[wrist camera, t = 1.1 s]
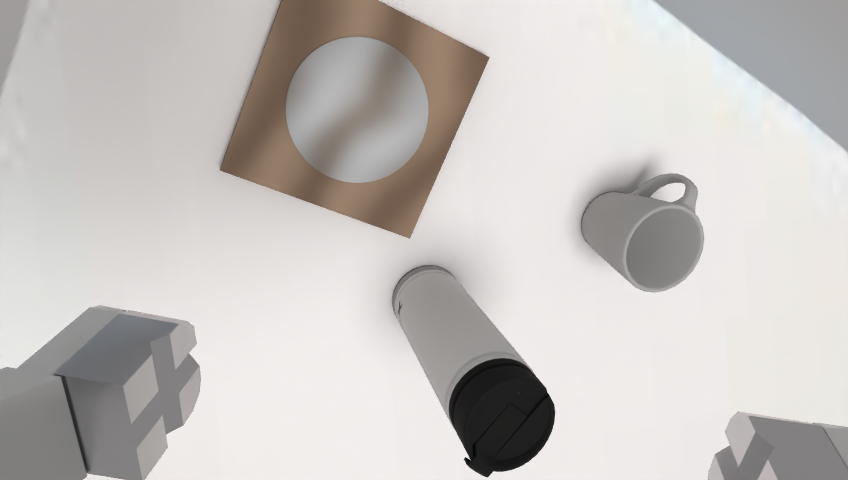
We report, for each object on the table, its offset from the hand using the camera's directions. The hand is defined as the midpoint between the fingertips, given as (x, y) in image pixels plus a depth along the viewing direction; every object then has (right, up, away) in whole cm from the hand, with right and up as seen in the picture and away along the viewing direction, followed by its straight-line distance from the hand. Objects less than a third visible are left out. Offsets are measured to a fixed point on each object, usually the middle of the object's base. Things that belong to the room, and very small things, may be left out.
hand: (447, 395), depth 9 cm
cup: (+18, +5, +47) cm, 50 cm away
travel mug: (0, -3, +45) cm, 45 cm away
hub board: (-6, +12, +38) cm, 40 cm away
